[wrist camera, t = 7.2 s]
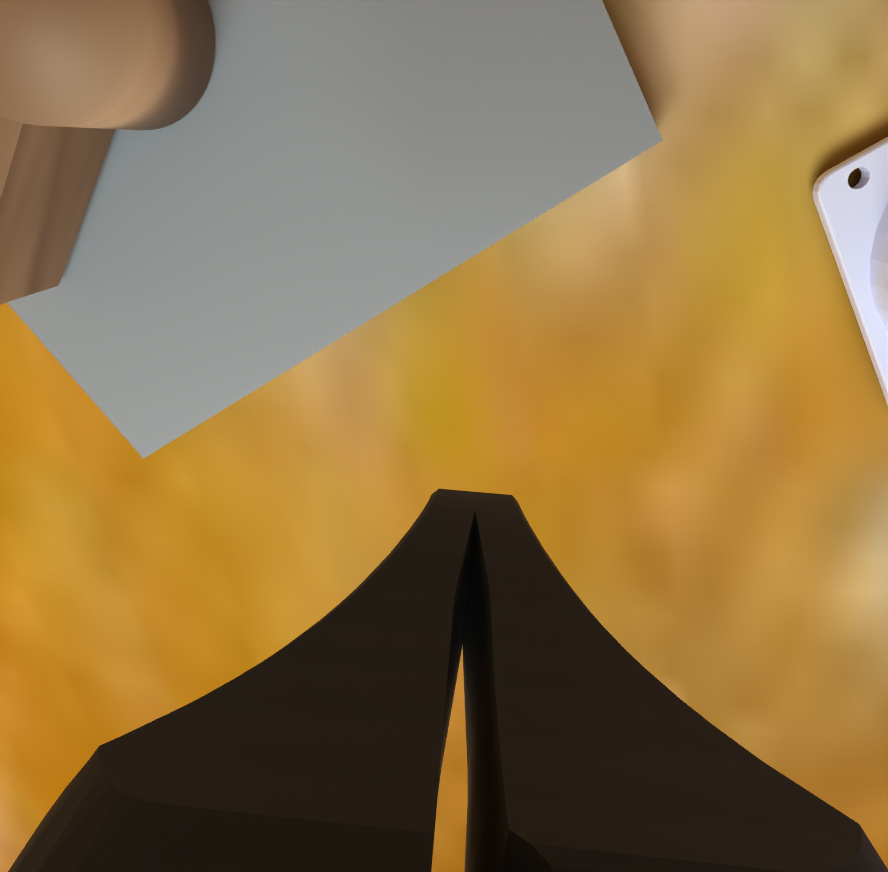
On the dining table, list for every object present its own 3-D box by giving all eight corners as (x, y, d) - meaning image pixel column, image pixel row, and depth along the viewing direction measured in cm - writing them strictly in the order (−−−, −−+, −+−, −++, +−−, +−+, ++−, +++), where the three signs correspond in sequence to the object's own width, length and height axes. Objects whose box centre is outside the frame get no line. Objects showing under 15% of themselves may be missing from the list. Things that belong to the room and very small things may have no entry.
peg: (293, -124, 14) (207, -242, 10) (113, 314, 18) (2, 364, 14) (107, -267, 13) (-75, -462, 9) (-33, 229, 18) (-196, 254, 13)
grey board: (289, -686, 11) (267, -773, 10) (651, 140, 17) (662, 140, 15) (-249, -37, 16) (-302, -50, 15) (160, 442, 22) (143, 458, 20)
